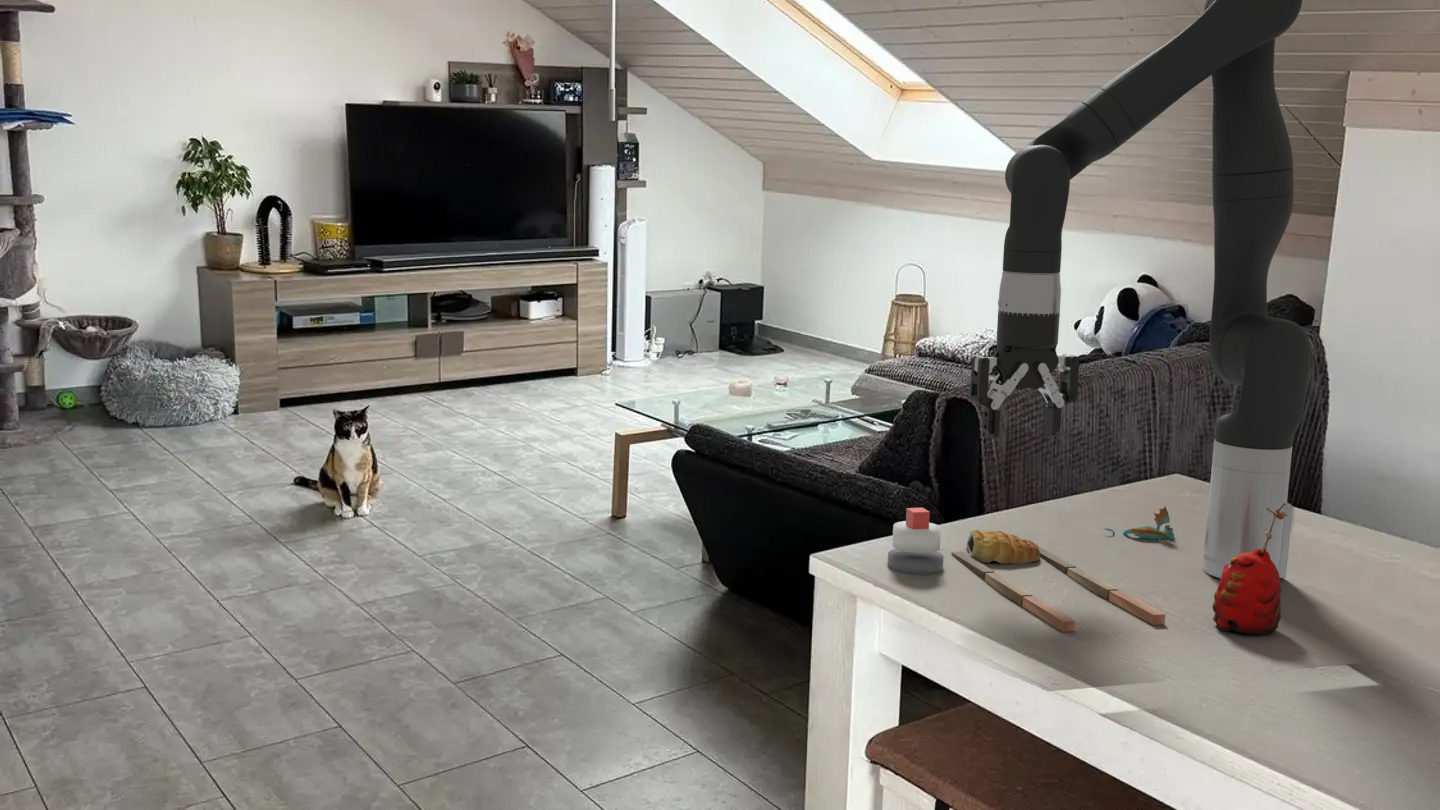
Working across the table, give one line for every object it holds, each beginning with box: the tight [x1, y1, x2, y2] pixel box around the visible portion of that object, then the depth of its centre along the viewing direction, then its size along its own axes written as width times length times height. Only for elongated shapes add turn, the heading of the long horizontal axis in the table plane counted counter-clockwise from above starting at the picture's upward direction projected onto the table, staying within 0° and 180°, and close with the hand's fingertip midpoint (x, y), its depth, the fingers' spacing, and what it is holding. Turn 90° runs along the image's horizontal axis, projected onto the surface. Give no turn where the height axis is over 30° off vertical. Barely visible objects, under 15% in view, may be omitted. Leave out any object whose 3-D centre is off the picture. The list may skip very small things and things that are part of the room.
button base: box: [887, 548, 944, 576], centre depth 165 cm, size 7×7×2 cm
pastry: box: [966, 529, 1041, 565], centre depth 170 cm, size 9×7×4 cm
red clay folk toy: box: [1212, 503, 1288, 636], centre depth 145 cm, size 8×7×15 cm
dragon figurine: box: [1104, 505, 1175, 547], centre depth 181 cm, size 6×7×8 cm
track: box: [951, 546, 1167, 633], centre depth 159 cm, size 13×28×1 cm, turn 16°
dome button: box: [891, 507, 942, 553], centre depth 165 cm, size 6×6×5 cm
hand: (1021, 436), depth 165 cm, fingers open, 7 cm apart
